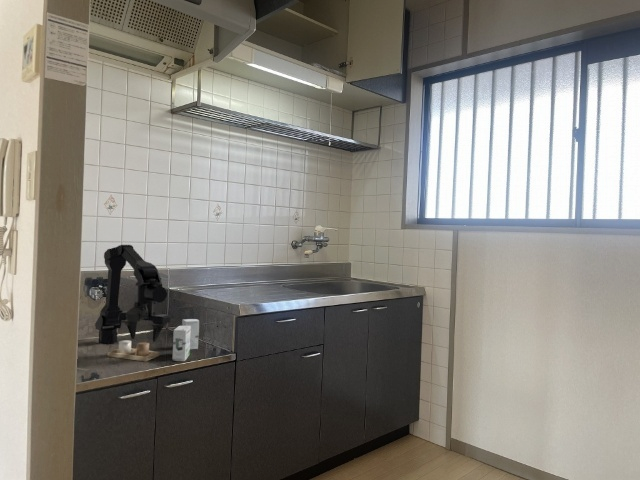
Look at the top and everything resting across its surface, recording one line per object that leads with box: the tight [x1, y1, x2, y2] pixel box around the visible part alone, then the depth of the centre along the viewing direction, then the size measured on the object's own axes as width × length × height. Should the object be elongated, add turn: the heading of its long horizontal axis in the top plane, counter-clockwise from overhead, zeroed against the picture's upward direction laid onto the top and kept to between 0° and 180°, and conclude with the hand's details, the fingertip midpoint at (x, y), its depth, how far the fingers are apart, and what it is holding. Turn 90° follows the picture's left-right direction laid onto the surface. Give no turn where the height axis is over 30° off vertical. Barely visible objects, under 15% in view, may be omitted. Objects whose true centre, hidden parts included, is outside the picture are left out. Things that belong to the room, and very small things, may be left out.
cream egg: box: [118, 339, 132, 354], centre depth 186 cm, size 4×4×5 cm
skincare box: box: [181, 318, 200, 350], centre depth 201 cm, size 6×4×12 cm
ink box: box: [171, 325, 191, 362], centre depth 188 cm, size 9×5×12 cm, turn 3°
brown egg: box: [136, 341, 150, 357], centre depth 184 cm, size 4×4×5 cm
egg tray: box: [107, 347, 160, 362], centre depth 185 cm, size 16×9×2 cm, turn 75°
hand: (143, 340), depth 184 cm, fingers open, 9 cm apart
